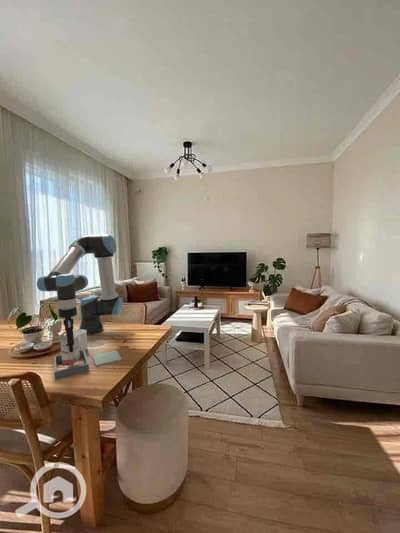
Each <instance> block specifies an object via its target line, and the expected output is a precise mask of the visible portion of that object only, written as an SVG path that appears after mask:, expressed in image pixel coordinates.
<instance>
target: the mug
mask: <svg viewBox="0 0 400 533" xmlns="http://www.w3.org/2000/svg"><path fill="white" fill-rule="evenodd" d="M73 334H74V335H75V334H79V351H82V350H85V351H86V350H88V334H87V331H86V330H84V329H81V330H79V329H76V330H73Z"/></svg>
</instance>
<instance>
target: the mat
mask: <svg viewBox="0 0 400 533" xmlns="http://www.w3.org/2000/svg"><path fill="white" fill-rule="evenodd" d="M91 358H92V359H93V362H94V366H95V367H96V368H97V367H100V366H105V365H108V364H113V363H117V362H121V361H122V360H123V359H122V357H121V355H120V353H119V352H118V351H117V350H113V351H108V352H103V353H99V354H94V355H92V356H91Z"/></svg>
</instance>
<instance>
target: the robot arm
mask: <svg viewBox="0 0 400 533" xmlns="http://www.w3.org/2000/svg"><path fill="white" fill-rule="evenodd" d="M116 252H117V242H116V240H115V238H114V236H112V235H110V234H86V235H81V236H80V237H79V238H77V239H76V240H74V241H73V242H72V243H71V244H70V245H69V246H68V250H67V252H66V253H65V254H64V255H63V256H62V257H61V258H60V259H59V261H58V263H57V264H55V266H54V268H53V269H51V271H50V273H49V274H47V275H44V276H43V275H42V276H39V277H38V278H37V281H36V287H37V290H39V291H40V292H56V296H57V301H56V302H55V304H56V305H57V307H58V310H57V311H58V313H57V314H58V317H59V318H60V319H63V325H64V332H65V331H66V332H67V343H68V344H66V346H67V349H68V359H73V358H75V350H74V338H73V335H74V334H73V331H74V318H72V317H75V316H77V315H78V310H77V309H78V308H77V296H76V292H79V291H82V290H83V289H86V288H87V286H88V284H89V280H88V278H87V276H85V275H83V274H76V275H74V274H73V273H71V271H72V270H73V269H74V267H75V266H76V265H77V264H78V262H79V261H80V259H81V258H83V257H85V255H88V254H89V255H90V254H91V255H93V257H94V258H95V259H97V266H98V274H99V275H98V276H99V281H100V282H99V283H100V289H101V295H100V296H99V295H90V296H87V297H84V298H82V299H80V302H79V303H80V304H79V305H80V319H81V320H80V325H79V329H78V330H81V329H84V330H86V331H87V335H94V334H98V333H100V332H103V331H104V324H103V322H102V320H101V316H119V315H120V313H121V311H122V308H123V298H121V297H119V294H118V292H116V283H115V275H114V267H113V258H114V255H115V253H116ZM69 342H70V343H69Z"/></svg>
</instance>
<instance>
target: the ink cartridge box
mask: <svg viewBox="0 0 400 533" xmlns="http://www.w3.org/2000/svg"><path fill="white" fill-rule="evenodd" d="M73 338H74V350H75V358H73V359H68V349H67V346H66V344H68V343H67V332H66V331H65V330H64V332H63V333H61V334H60V342H59V343H60V355H61V356H62V362H61V365H62V366H63V367H65V366H66V367H68V366H70V367H71V366H74V365H75V363H76V362H77V361H78V360H79V359H81V358H80V353H79V334H75V335H73ZM69 343H70V342H69Z"/></svg>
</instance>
